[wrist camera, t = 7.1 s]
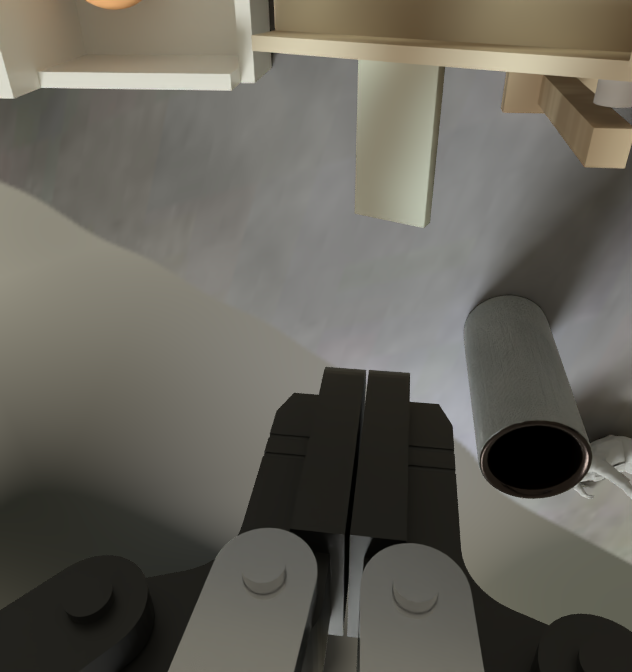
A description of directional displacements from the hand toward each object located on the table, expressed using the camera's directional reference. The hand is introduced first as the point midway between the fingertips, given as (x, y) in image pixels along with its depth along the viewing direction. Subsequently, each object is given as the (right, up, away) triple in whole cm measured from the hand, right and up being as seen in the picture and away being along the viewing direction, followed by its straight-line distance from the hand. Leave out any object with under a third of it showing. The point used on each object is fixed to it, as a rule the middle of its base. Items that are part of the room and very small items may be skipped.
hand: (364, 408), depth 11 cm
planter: (+10, +2, +23) cm, 25 cm away
